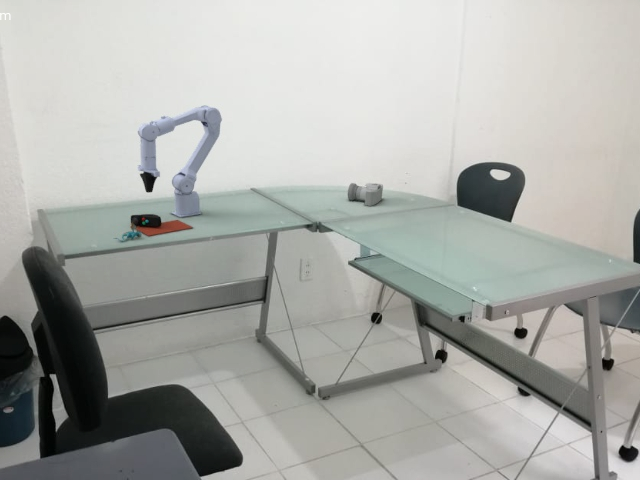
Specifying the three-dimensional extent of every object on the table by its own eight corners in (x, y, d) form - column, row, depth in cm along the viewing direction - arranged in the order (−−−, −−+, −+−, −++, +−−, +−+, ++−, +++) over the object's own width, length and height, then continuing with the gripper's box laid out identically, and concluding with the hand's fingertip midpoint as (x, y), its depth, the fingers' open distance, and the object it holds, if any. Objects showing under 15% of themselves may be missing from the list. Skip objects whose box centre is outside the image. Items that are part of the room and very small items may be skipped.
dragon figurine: (132, 241, 207) (144, 227, 212) (113, 232, 207) (125, 218, 212) (131, 253, 212) (142, 239, 217) (112, 244, 212) (124, 230, 217)
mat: (177, 220, 236) (177, 219, 235) (192, 228, 227) (192, 227, 227) (134, 228, 225) (134, 227, 225) (148, 236, 217) (148, 235, 216)
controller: (140, 211, 233) (126, 215, 224) (169, 213, 229) (156, 217, 220) (141, 223, 234) (127, 226, 225) (169, 225, 231) (156, 228, 221)
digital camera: (359, 203, 281) (362, 181, 279) (386, 207, 273) (389, 185, 271) (341, 202, 268) (344, 179, 266) (369, 206, 260) (373, 182, 258)
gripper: (130, 154, 232) (131, 189, 237) (147, 160, 222) (148, 196, 227) (147, 153, 236) (147, 187, 241) (164, 159, 226) (165, 195, 231)
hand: (149, 192), depth 234 cm, fingers closed
